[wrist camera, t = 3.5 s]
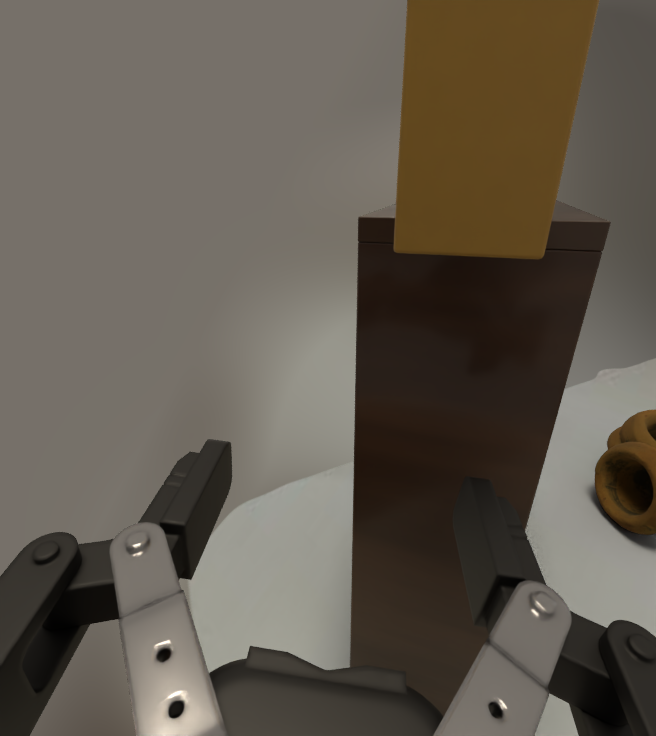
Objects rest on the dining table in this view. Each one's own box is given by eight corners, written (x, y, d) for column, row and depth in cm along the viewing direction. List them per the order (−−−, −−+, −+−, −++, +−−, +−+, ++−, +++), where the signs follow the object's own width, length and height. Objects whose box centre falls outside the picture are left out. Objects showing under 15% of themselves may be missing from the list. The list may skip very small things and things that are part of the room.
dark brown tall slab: (467, 741, 29) (611, 221, 14) (349, 694, 32) (358, 216, 16) (475, 477, 55) (529, 189, 39) (409, 463, 58) (434, 189, 42)
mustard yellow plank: (544, 260, 8) (705, -481, 4) (392, 253, 9) (426, -364, 5) (503, 200, 25) (530, 38, 21) (453, 199, 26) (470, 44, 22)
